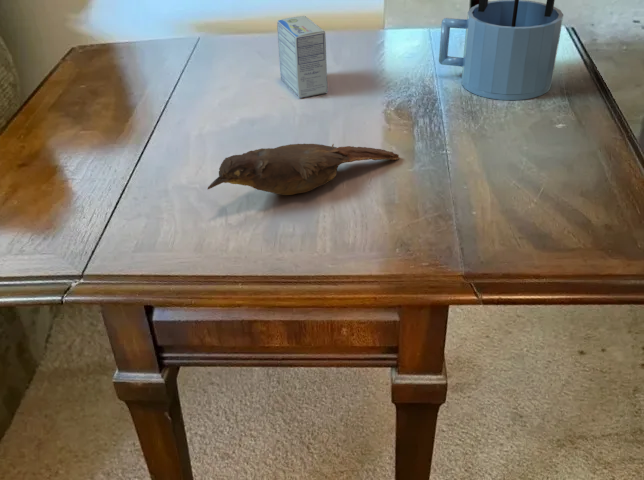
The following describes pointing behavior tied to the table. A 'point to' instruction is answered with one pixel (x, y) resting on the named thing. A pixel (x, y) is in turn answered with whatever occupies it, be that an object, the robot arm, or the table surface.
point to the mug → (506, 49)
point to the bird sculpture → (292, 166)
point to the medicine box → (302, 56)
